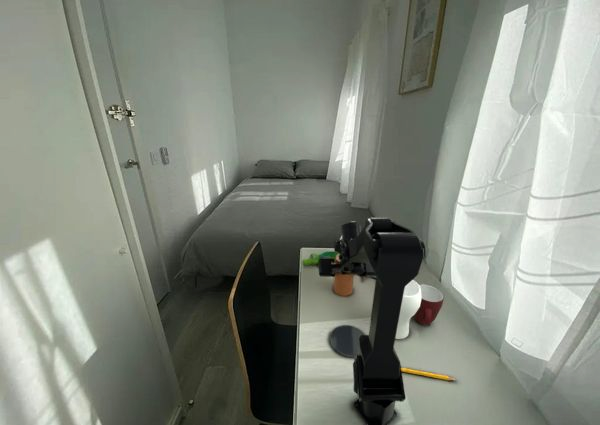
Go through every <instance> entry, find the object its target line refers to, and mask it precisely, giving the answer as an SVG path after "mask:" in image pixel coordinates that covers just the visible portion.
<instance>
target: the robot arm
mask: <svg viewBox="0 0 600 425" xmlns="http://www.w3.org/2000/svg"><path fill="white" fill-rule="evenodd" d="M340 228H341V236H342V239H341V240H340V239H337V240H335V241H333V252H334V251H337V252H338V253H339V260H340V263H339V264H335V262H334V259H331V257H320V258H319V267H318V276H320V278H329V277H330V278H334V277H335V272H341V275H354V276H358V277H359V278H362V277H365V278H367V277H369V278H373V277H375V276H376V278H375V283H374V291H373V298H372V306H371V313H370V320H369V321H370V322H369V330H368V334H365V335H361V336H360V338H359V345H358V352H357V355H355V357H353V362H352V372H353V373H352V374H353V375H352V376H353V387H352V388H353V392H354V393H355V394H356V395H357V399H356V400H355V401H354V402H353V408H354V409H355V411H356V412H357V414H358V415H359V416H360V417H361V418H362V420H363V421H364V422H365V424H366V425H389V424H391V423H392V422H393V421H394V420H395V419H396V418H398V412H397V411H396V410H395V405H396V402H405V400H406V399H407V398H406V392H405V384H404V378H403V372H402V371H401V368H402V364H401V361H400V358H399V356H398V354H397V350H396V349H395V343H396V339H395V338H396V333H397V327H398V322H399V316H400V311H401V305H402V300H403V294H404V289H405V286H406V285H407V284H408V283H409V282H411V281H412V280H414V279H415V278H417V277H418V275H419V273H420V270H421V268H422V264H423V262H424V260H425V257H426V252H427V251H426V244H425V243H424V241H423V239H421V238H420V237H419V235H418V234H417V233H416V232H415V231H414V230H412V229H411V228H408V227H406V226H403V224H399V223H397V222H396V221H395V220H394V219H393V218H390V217H369V218H366V219H365V222H364V227H362V228H361V224H360V223H358V222H357V221H349V222H347V223H344V224H341V227H340ZM335 268H340V269H335Z"/></svg>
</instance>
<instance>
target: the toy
mask: <svg viewBox="0 0 600 425" xmlns="http://www.w3.org/2000/svg"><path fill="white" fill-rule="evenodd" d="M338 254H339V253H338V252H337V251H334V250H333V251H331V250H329V251H328V250H327V251H324V252H322V253H319V254H316V253H315V252H313V253H311V254H309V257H308V258H307V259H305V258H303V259H302V261H301V263H302V265H303V266H305V267H307V266H315V265H317V266H318V268H319V258H320V257H331V259H334V263H335V258H336V255H338Z"/></svg>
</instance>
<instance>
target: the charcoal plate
mask: <svg viewBox="0 0 600 425" xmlns="http://www.w3.org/2000/svg"><path fill="white" fill-rule="evenodd" d="M361 335H366V334H365V332H363V331H362V330H361V329H360V328H358V327H356V326H353V325H349V324H344V325H339V326H336V327H335V328H334V329H333V330H332V331H331V332H330V338H329V339H330V344H331V347H332V348H333V350H334V351H335V352H336V353H338V354H340V355H342V356H343V357H346V358H355V355H357V352H358V345H359V338H360V336H361Z"/></svg>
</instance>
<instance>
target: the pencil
mask: <svg viewBox="0 0 600 425" xmlns="http://www.w3.org/2000/svg"><path fill="white" fill-rule="evenodd" d="M401 371H402V373H406V374H407V373H409V374H414V375H418V376H424V377H429V378H433V379H434V378H435V379H440V380H446V381H456V379H455V378H453V377H450V376H448V375H443V374H442V375H441V374H438V373H431V372H427V371H423V370H417V369H411V368H405V367H401Z"/></svg>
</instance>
